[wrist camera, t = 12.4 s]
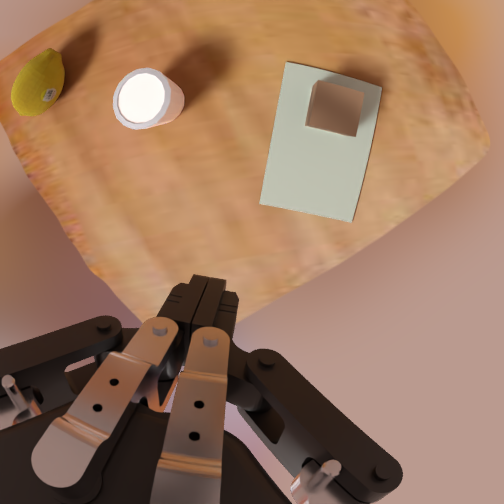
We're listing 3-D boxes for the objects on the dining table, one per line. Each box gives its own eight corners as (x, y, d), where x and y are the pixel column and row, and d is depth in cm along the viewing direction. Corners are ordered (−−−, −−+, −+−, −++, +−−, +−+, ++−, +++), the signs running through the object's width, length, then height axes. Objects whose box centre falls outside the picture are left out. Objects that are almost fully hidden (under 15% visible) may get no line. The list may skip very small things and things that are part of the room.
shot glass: (185, 71, 30) (166, 59, 24) (193, 122, 33) (175, 121, 27) (136, 85, 31) (108, 78, 25) (143, 134, 34) (116, 136, 27)
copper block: (309, 125, 27) (304, 125, 32) (355, 137, 27) (344, 135, 32) (318, 79, 25) (311, 86, 30) (364, 92, 25) (352, 97, 30)
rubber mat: (285, 62, 29) (285, 61, 29) (381, 87, 29) (382, 87, 29) (259, 203, 37) (259, 203, 36) (351, 222, 37) (351, 222, 36)
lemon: (47, 127, 33) (11, 132, 26) (28, 97, 31) (-7, 99, 24) (89, 73, 30) (54, 67, 23) (67, 44, 28) (33, 36, 21)
